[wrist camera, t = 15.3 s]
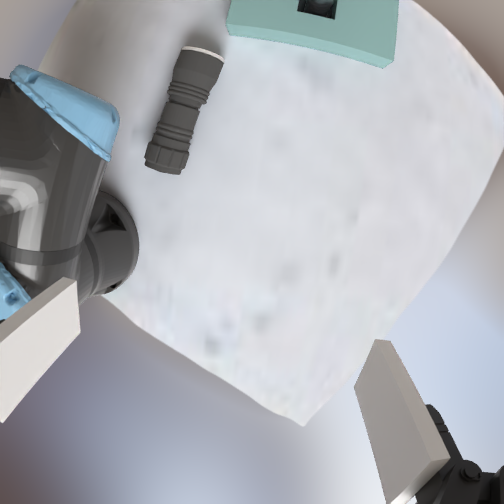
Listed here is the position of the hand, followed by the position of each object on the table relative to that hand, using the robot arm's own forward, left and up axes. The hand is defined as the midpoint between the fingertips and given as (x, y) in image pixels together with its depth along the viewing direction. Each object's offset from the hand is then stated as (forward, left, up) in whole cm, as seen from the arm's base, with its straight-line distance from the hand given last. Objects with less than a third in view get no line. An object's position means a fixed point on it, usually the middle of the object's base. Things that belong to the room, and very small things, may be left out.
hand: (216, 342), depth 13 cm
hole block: (+3, +28, -29) cm, 40 cm away
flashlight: (-10, +11, -29) cm, 33 cm away
